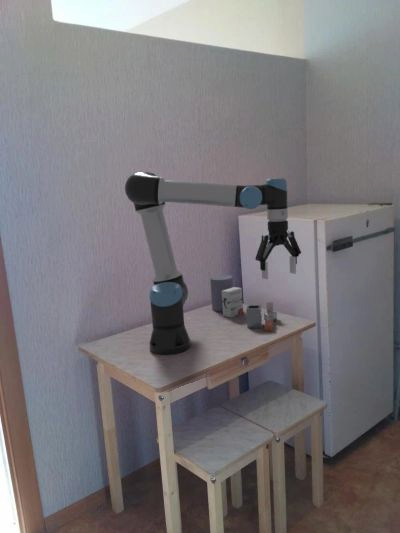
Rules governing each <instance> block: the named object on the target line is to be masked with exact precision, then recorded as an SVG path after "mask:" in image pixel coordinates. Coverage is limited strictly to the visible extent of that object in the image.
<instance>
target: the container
mask: <svg viewBox="0 0 400 533" xmlns="http://www.w3.org/2000/svg"><path fill="white" fill-rule="evenodd" d="M209 279H210V293H211V294H210V295H211V309H212V310H213V311H215V312H223V306H222V291H223V290H226V289H230V288H233V287H234V282H233V276H232V275H229V274H228V275H227V274H226V275H225V274H223V275H222V274H221V275H214V276H211V277H210V278H209Z"/></svg>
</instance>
